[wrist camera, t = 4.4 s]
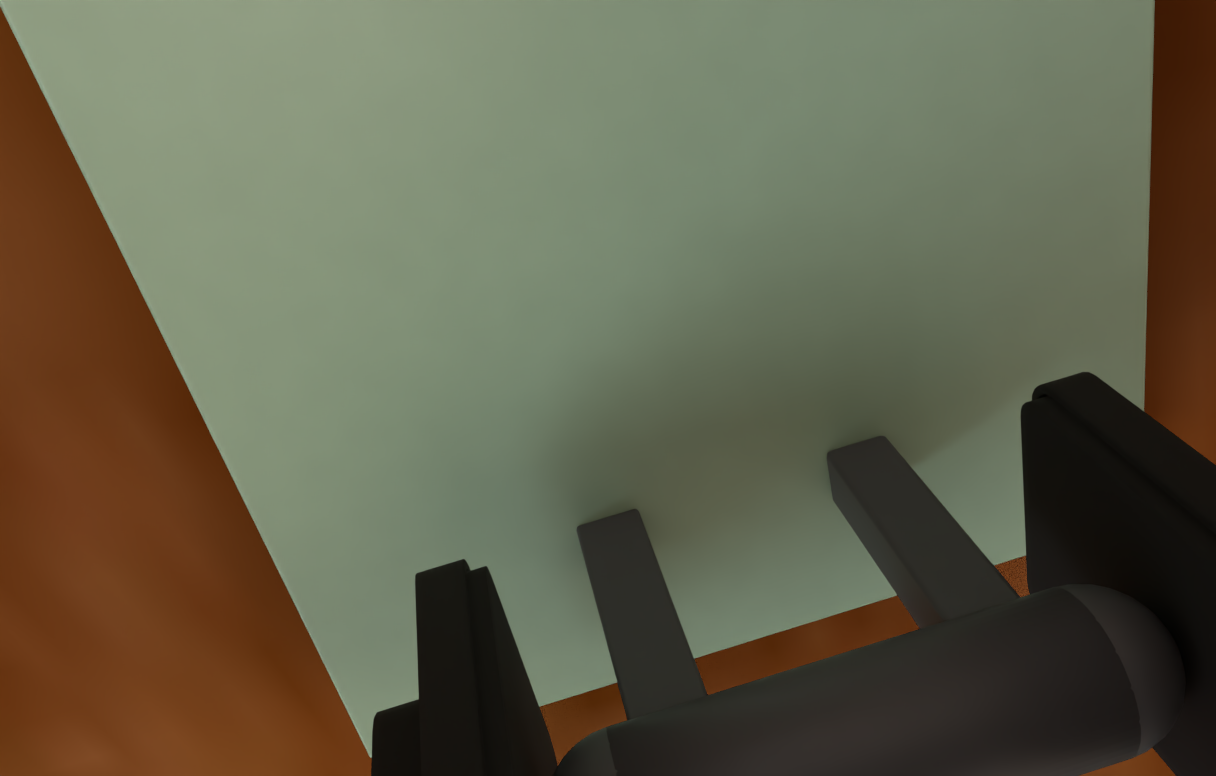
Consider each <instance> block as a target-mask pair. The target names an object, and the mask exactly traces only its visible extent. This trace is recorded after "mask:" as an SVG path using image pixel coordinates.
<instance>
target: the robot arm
mask: <svg viewBox="0 0 1216 776" xmlns="http://www.w3.org/2000/svg"><path fill="white" fill-rule="evenodd" d="M1020 418H1021V442H1022V466H1023V490H1024V514H1025V538H1026V562H1027V583H1028V589H1029V592H1030V594H1034V593H1037V592H1040V591H1043V590H1046V589H1050V588H1053V587H1058V586H1063V585H1068V584H1093V585H1097V586H1102V587H1107V588H1111V589H1113V590H1116V591H1119V592H1121V593H1123V594H1126V595H1128V596H1130V597H1132V598H1134V599H1135V600H1137V601H1138V602H1140V603H1141V604H1142V605H1144V606H1145V607H1147V608H1148V609H1149V610H1151V611H1152V612H1153V613H1154V614H1155V615H1156V616H1157V617H1158V618H1159V619H1160V621H1161V622H1162V623H1163V624H1164V626H1165V627H1166V628H1167V629H1168V631H1169V632H1170V634H1171V635H1172V637H1173V638H1174V640H1175V642H1176V644H1177V646H1178V649H1179V651H1180V654H1181V657H1182V661H1183V665H1184V670H1185V676H1186V686H1185V696H1184V702H1183V706H1182V708H1181V711H1180V713H1179V716H1178V718H1177V720H1176V722H1175V724H1174V726H1173V727H1172V728H1171V730H1170V731H1169V732H1168V734H1167V735H1166V736H1165V738H1163V739H1162V740H1161V741H1159V742H1158V743H1157V744H1156V745H1154V746H1153V749H1154V750H1155V751H1156V752H1157V753H1158V755H1159V756H1160V757H1161V758H1162V759H1163V760H1164V762H1165V763H1166V764H1167V765H1168V766H1169V768H1170V769H1171V770H1172V771H1173V772H1174V774H1175V775H1176V776H1216V465H1215V464H1213V463H1212V462H1211V461H1209V460H1208V459H1207V458H1205V457H1204V456H1203V455H1201V454H1200V453H1199V452H1197V451H1196V450H1195V449H1193V448H1192V447H1191V446H1189V445H1188V444H1187V443H1185V442H1184V441H1183V440H1181V439H1180V438H1179V437H1177V436H1176V435H1175V434H1173V433H1172V432H1171V431H1169V430H1168V429H1167V428H1165V427H1164V426H1163V425H1161V424H1160V423H1159V422H1157V421H1156V420H1155V419H1153V418H1152V417H1151V416H1149V415H1148V414H1147V413H1145V412H1144V411H1143V410H1141V409H1140V408H1139V407H1137V406H1136V405H1135V404H1133V403H1132V402H1131V401H1129V400H1128V399H1127V398H1125V397H1124V396H1123V395H1121V394H1120V393H1119V392H1117V391H1116V390H1115V389H1113V388H1112V387H1111V386H1109V385H1108V384H1107V383H1105V382H1104V381H1103V380H1101V379H1100V378H1099V377H1097V376H1096V375H1094V374H1092V373H1090V372H1081V373H1078V374H1074V375H1071V376H1068V377H1064V378H1061V379H1058V380H1054V381H1051V382H1048V383H1044V384H1041V385H1038V386H1037V387H1036V388H1035V389H1034V391H1033V394H1032V401H1029V402H1026V403H1024V404H1023V405H1022V408H1021V415H1020ZM415 596H416V627H417V658H418V689H419V699H418V700H415V701H411V702H408V703H405V704H402V705H398V706H395V707H392V708H389V709H385V710H382V711H379V712H377V713H376V715H375V717H374V720H373V729H372V769H371V776H553V774H554V771H555V770H556V768H557V767H558V766H557V761H556V757H555V753H554V749H553V745H552V742H551V739H550V736H549V733H548V730H547V727H546V724H545V721H544V719H543V716H542V713H541V710H540V708H539V705H538V702H537V700H536V697H535V694H534V691H533V689H532V686H531V683H530V680H529V678H528V675H527V672H526V669H525V667H524V664H523V661H522V658H521V656H520V653H519V650H518V647H517V645H516V642H515V639H514V636H513V634H512V631H511V628H510V626H509V623H508V620H507V617H506V615H505V612H504V609H503V606H502V604H501V601H500V598H499V595H498V593H497V590H496V587H495V584H494V582H493V579H492V576H491V574H490V571H489V569H488V567H487V566H484V567H481V568H477V569H474V570H470V568H469V565H468V563H467V562H466V560H465V559H462V560H458V561H455V562H452V563H448V564H445V565H442V566H438V567H435V568H432V569H428V570H425V571H422V572H419V573H417V574H416V575H415Z"/></svg>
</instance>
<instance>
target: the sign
mask: <svg viewBox="0 0 1216 776" xmlns="http://www.w3.org/2000/svg"><path fill="white" fill-rule="evenodd" d="M0 7H1V9H2V11H3V13H4V15H5V17H6V19H7V21H8V23H9V25H10V27H11V29H12V31H13V33H14V35H15V37H16V39H17V41H18V43H19V45H20V47H21V49H22V51H23V53H24V55H25V58H26V60H27V62H28V64H29V66H30V68H31V70H32V72H33V74H34V76H35V78H36V80H37V82H38V84H39V86H40V88H41V90H42V92H43V94H44V96H45V98H46V100H47V102H48V104H49V106H50V108H51V110H52V112H53V114H54V116H55V118H56V120H57V123H58V125H59V127H60V129H61V131H62V133H63V135H64V137H65V139H66V141H67V143H68V145H69V147H70V149H71V151H72V153H73V155H74V157H75V159H76V161H77V163H78V165H79V167H80V169H81V171H82V173H83V175H84V177H85V179H86V181H87V183H88V185H89V188H90V190H91V192H92V194H93V196H94V198H95V200H96V202H97V204H98V206H99V208H100V210H101V212H102V214H103V216H104V218H105V220H106V222H107V224H108V226H109V228H110V230H111V232H112V234H113V236H114V238H115V240H116V242H117V244H118V246H119V248H120V250H121V252H122V255H123V257H124V259H125V261H126V263H127V265H128V267H129V269H130V271H131V273H132V275H133V277H134V279H135V281H136V283H137V285H138V287H139V289H140V291H141V293H142V295H143V297H144V299H145V301H146V303H147V305H148V307H149V309H150V311H151V313H152V315H153V317H154V320H155V322H156V324H157V326H158V328H159V330H160V332H161V334H162V336H163V338H164V340H165V342H166V344H167V346H168V348H169V350H170V352H171V354H172V356H173V358H174V360H175V362H176V364H177V366H178V368H179V370H180V372H181V374H182V376H183V378H184V380H185V382H186V385H187V387H188V389H189V391H190V393H191V395H192V397H193V399H194V401H195V403H196V405H197V407H198V409H199V411H200V413H201V415H202V417H203V419H204V421H205V423H206V425H207V427H208V429H209V431H210V433H211V435H212V437H213V439H214V441H215V443H216V445H217V447H218V450H219V452H220V454H221V456H222V458H223V460H224V462H225V464H226V466H227V468H228V470H229V472H230V474H231V476H232V478H233V480H234V482H235V484H236V486H237V488H238V490H239V492H240V494H241V496H242V498H243V500H244V502H245V504H246V506H247V508H248V510H249V512H250V515H251V517H252V519H253V521H254V523H255V525H256V527H257V529H258V531H259V533H260V535H261V537H262V539H263V541H264V543H265V545H266V547H267V549H268V551H269V553H270V555H271V557H272V559H273V561H274V563H275V565H276V567H277V569H278V571H279V573H280V575H281V577H282V580H283V582H284V584H285V586H286V588H287V590H288V592H289V594H290V596H291V598H292V600H293V602H294V604H295V606H296V608H297V610H298V612H299V614H300V616H301V618H302V620H303V622H304V624H305V626H306V628H307V630H308V632H309V634H310V636H311V638H312V640H313V642H314V645H315V647H316V649H317V651H318V653H319V655H320V657H321V659H322V661H323V663H324V665H325V667H326V669H327V671H328V673H329V675H330V677H331V679H332V681H333V683H334V685H335V687H336V689H337V691H338V693H339V695H340V697H341V699H342V701H343V703H344V705H345V707H346V710H347V712H348V714H349V716H350V718H351V720H352V722H353V724H354V726H355V728H356V730H357V732H358V734H359V736H360V738H361V740H362V742H363V744H364V746H365V748H366V750H367V752H368V754H369V756H370V757H371V758H372V729H373V720H374V717H375V715H376V713H377V712H379V711H382V710H385V709H389V708H392V707H395V706H398V705H402V704H405V703H408V702H411V701H415V700H418V699H419V689H418V658H417V627H416V596H415V575H416V574H417V573H419V572H422V571H425V570H428V569H432V568H435V567H438V566H442V565H445V564H448V563H452V562H455V561H458V560H462V559H465V560H466V562H467V563H468V565H469V568H470V570H474V569H477V568H481V567H484V566H487V567H488V569H489V571H490V574H491V576H492V579H493V582H494V584H495V587H496V590H497V593H498V595H499V598H500V601H501V604H502V606H503V609H504V612H505V615H506V617H507V620H508V623H509V626H510V628H511V631H512V634H513V636H514V639H515V642H516V645H517V647H518V650H519V653H520V656H521V658H522V661H523V664H524V667H525V669H526V672H527V675H528V678H529V680H530V683H531V686H532V689H533V691H534V694H535V697H536V700H537V702H538V705H539V707H540V706H543V705H546V704H549V703H552V702H556V701H559V700H562V699H565V698H569V697H572V696H575V695H578V694H581V693H585V692H588V691H591V690H594V689H598V688H601V687H604V686H607V685H610V684H614V683H618V687H619V690H620V694H621V698H622V701H623V705H624V709H625V712H626V716H627V720H628V721H624V722H621V723H618V724H615V725H612V726H609V727H606V728H603V729H601V730H599V731H596V732H594V733H592V734H590V735H588V736H587V737H585V738H584V739H583V740H581V741H580V742H578V743H577V744H576V745H575V746H574V747H573V748H572V749H571V750H570V751H569V752H568V753H567V754H566V755H565V756H564V758H563V759H562V761H561V762H560V764H559V765H558V767H557V768H556V770H555V771H554V774H553V776H1079V775H1082V774H1085V773H1088V772H1091V771H1094V770H1097V769H1101V768H1104V767H1107V766H1110V765H1113V764H1116V763H1119V762H1122V761H1125V760H1128V759H1131V758H1134V757H1136V756H1138V755H1140V754H1142V753H1145V752H1147V751H1148V750H1149V749H1150V748H1152V747H1153V746H1154V745H1156V744H1157V743H1158V742H1159V741H1161V740H1162V739H1163V738H1165V736H1166V735H1167V734H1168V732H1169V731H1170V730H1171V728H1172V727H1173V726H1174V724H1175V722H1176V720H1177V718H1178V716H1179V713H1180V711H1181V708H1182V706H1183V702H1184V696H1185V686H1186V676H1185V670H1184V665H1183V661H1182V657H1181V654H1180V651H1179V649H1178V646H1177V644H1176V642H1175V640H1174V638H1173V637H1172V635H1171V634H1170V632H1169V631H1168V629H1167V628H1166V627H1165V626H1164V624H1163V623H1162V622H1161V621H1160V619H1159V618H1158V617H1157V616H1156V615H1155V614H1154V613H1153V612H1152V611H1151V610H1149V609H1148V608H1147V607H1145V606H1144V605H1142V604H1141V603H1140V602H1138V601H1137V600H1135V599H1134V598H1132V597H1130V596H1128V595H1126V594H1123V593H1121V592H1119V591H1116V590H1113V589H1111V588H1107V587H1102V586H1097V585H1093V584H1068V585H1063V586H1058V587H1053V588H1050V589H1046V590H1043V591H1040V592H1037V593H1034V594H1030V595H1027V596H1024V597H1020V596H1019V595H1018V594H1017V593H1016V591H1015V590H1014V589H1013V588H1012V587H1011V586H1010V584H1009V583H1008V582H1007V581H1006V580H1005V578H1004V577H1003V576H1002V575H1001V574H1000V572H999V571H998V570H997V569H996V568H995V566H994V565H997V564H1000V563H1003V562H1006V561H1009V560H1013V559H1016V558H1019V557H1022V556H1026V538H1025V514H1024V490H1023V466H1022V442H1021V418H1020V415H1021V408H1022V405H1023V404H1024V403H1026V402H1029V401H1032V394H1033V391H1034V389H1035V388H1036V387H1037V386H1038V385H1041V384H1044V383H1048V382H1051V381H1054V380H1058V379H1061V378H1064V377H1068V376H1071V375H1074V374H1078V373H1081V372H1090V373H1092V374H1094V375H1096V376H1097V377H1099V378H1100V379H1101V380H1103V381H1104V382H1105V383H1107V384H1108V385H1109V386H1111V387H1112V388H1113V389H1115V390H1116V391H1117V392H1119V393H1120V394H1121V395H1123V396H1124V397H1125V398H1127V399H1128V400H1129V401H1131V402H1132V403H1133V404H1135V405H1136V406H1137V407H1139V408H1140V409H1141V410H1143V411H1144V392H1145V354H1146V316H1147V278H1148V240H1149V202H1150V164H1151V126H1152V88H1153V50H1154V12H1155V0H0ZM897 595H898V597H899V598H900V600H901V601H902V603H903V604H904V606H905V607H906V609H907V610H908V612H909V613H910V615H911V616H912V618H913V619H914V621H915V622H916V623H917V625H918V626H919V628H920V629H919V630H915V631H912V632H909V633H906V634H903V635H899V636H896V637H893V638H890V639H887V640H883V641H880V642H877V643H874V644H871V645H867V646H864V647H861V648H858V649H855V650H851V651H848V652H845V653H842V654H839V655H835V656H832V657H829V658H826V659H823V660H819V661H816V662H813V663H810V664H807V665H803V666H800V667H797V668H794V669H791V670H788V671H784V672H781V673H778V674H775V675H772V676H768V677H765V678H762V679H759V680H756V681H752V682H749V683H746V684H743V685H740V686H736V687H733V688H730V689H727V690H724V691H720V692H717V693H714V694H711V695H707V692H706V689H705V687H704V684H703V681H702V679H701V676H700V673H699V671H698V668H697V665H696V663H695V660H694V658H697V657H700V656H704V655H707V654H710V653H713V652H717V651H720V650H723V649H726V648H729V647H733V646H736V645H739V644H742V643H746V642H749V641H752V640H755V639H758V638H762V637H765V636H768V635H771V634H775V633H778V632H781V631H784V630H787V629H791V628H794V627H797V626H800V625H803V624H807V623H810V622H813V621H816V620H820V619H823V618H826V617H829V616H832V615H836V614H839V613H842V612H845V611H849V610H852V609H855V608H858V607H861V606H865V605H868V604H871V603H874V602H878V601H881V600H884V599H887V598H890V597H894V596H897Z"/></svg>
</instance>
